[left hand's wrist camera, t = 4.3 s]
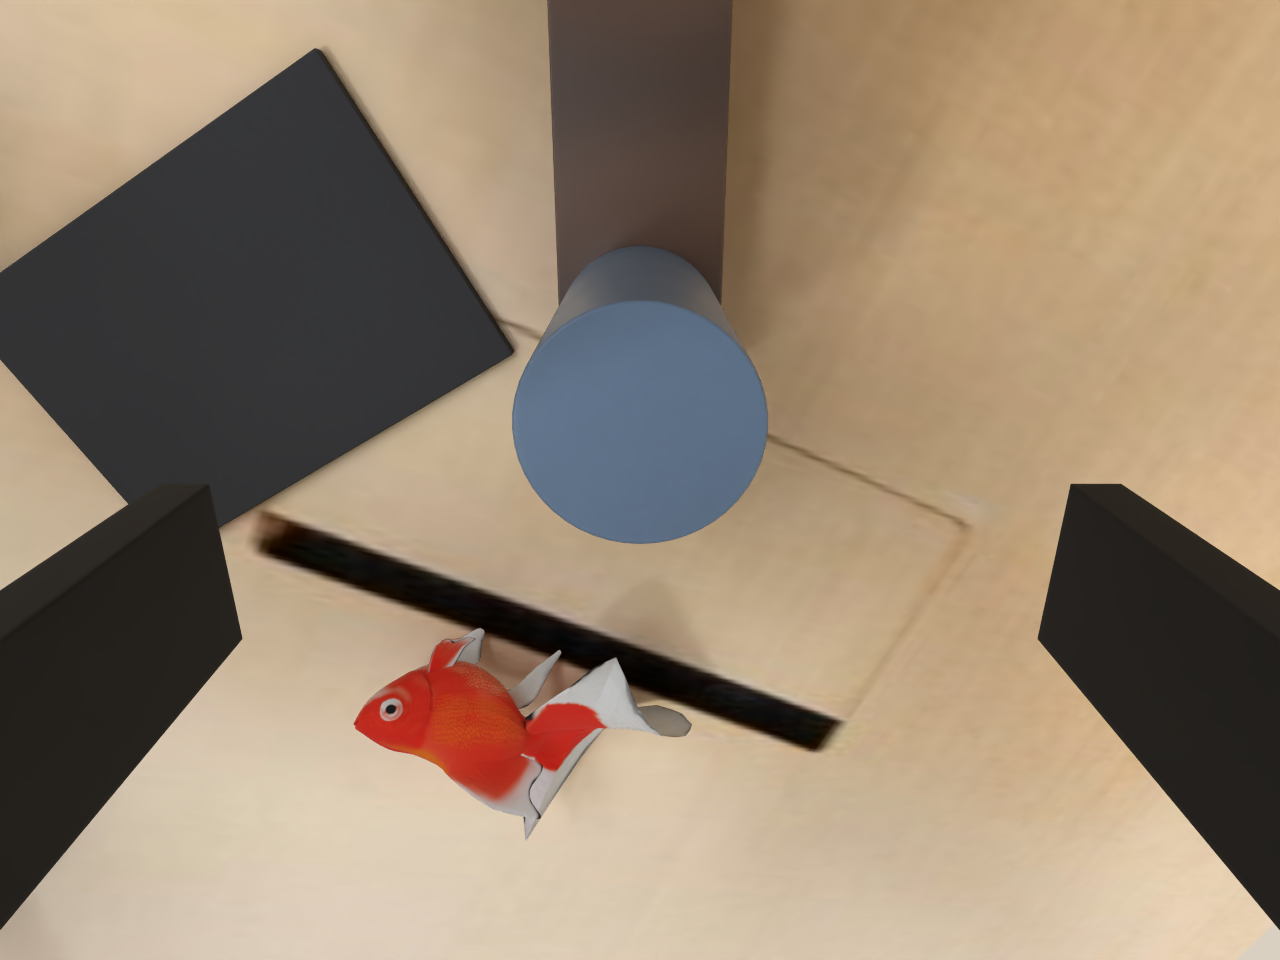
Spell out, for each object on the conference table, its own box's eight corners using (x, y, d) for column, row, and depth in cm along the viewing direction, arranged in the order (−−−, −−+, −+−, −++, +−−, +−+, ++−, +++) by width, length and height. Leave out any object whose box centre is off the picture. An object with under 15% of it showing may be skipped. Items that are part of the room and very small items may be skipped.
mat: (179, 549, 40) (172, 555, 39) (-38, 304, 35) (-48, 306, 35) (514, 351, 36) (513, 354, 36) (320, 49, 32) (314, 47, 31)
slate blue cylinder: (611, 433, 31) (596, 583, 20) (528, 299, 29) (460, 384, 18) (748, 358, 30) (811, 473, 19) (671, 213, 28) (691, 248, 17)
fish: (425, 536, 34) (433, 767, 28) (702, 592, 43) (753, 778, 37) (338, 652, 41) (330, 862, 35) (595, 681, 49) (624, 853, 43)
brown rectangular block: (705, 368, 37) (717, 406, 31) (574, 368, 37) (562, 406, 31) (724, -240, 28) (745, -337, 23) (555, -240, 28) (534, -337, 23)
